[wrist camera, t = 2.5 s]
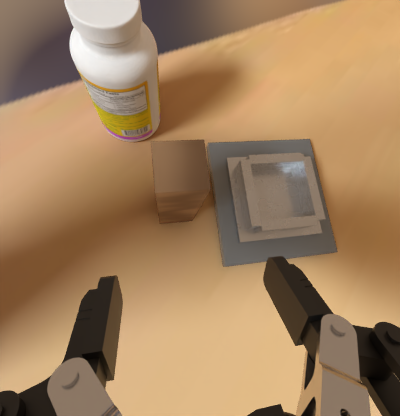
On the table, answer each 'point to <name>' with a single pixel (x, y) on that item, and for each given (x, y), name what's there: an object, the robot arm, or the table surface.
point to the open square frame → (274, 196)
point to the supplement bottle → (117, 65)
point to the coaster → (226, 224)
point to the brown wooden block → (179, 178)
